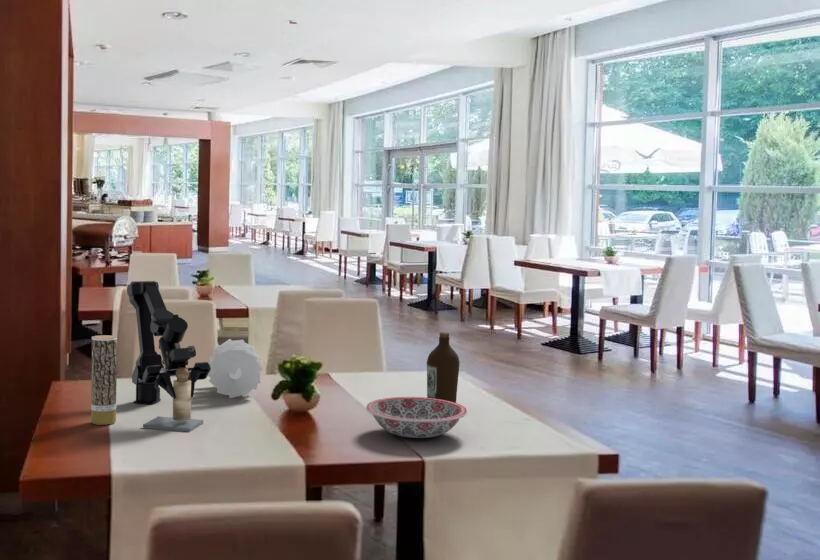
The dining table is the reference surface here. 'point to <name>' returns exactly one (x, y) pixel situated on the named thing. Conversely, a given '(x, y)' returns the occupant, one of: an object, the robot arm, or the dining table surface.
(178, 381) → the pepper mill
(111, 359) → the paper tube
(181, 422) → the slate board
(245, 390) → the spiral staircase
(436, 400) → the ceramic bowl
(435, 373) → the olive oil
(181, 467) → the dining table surface
